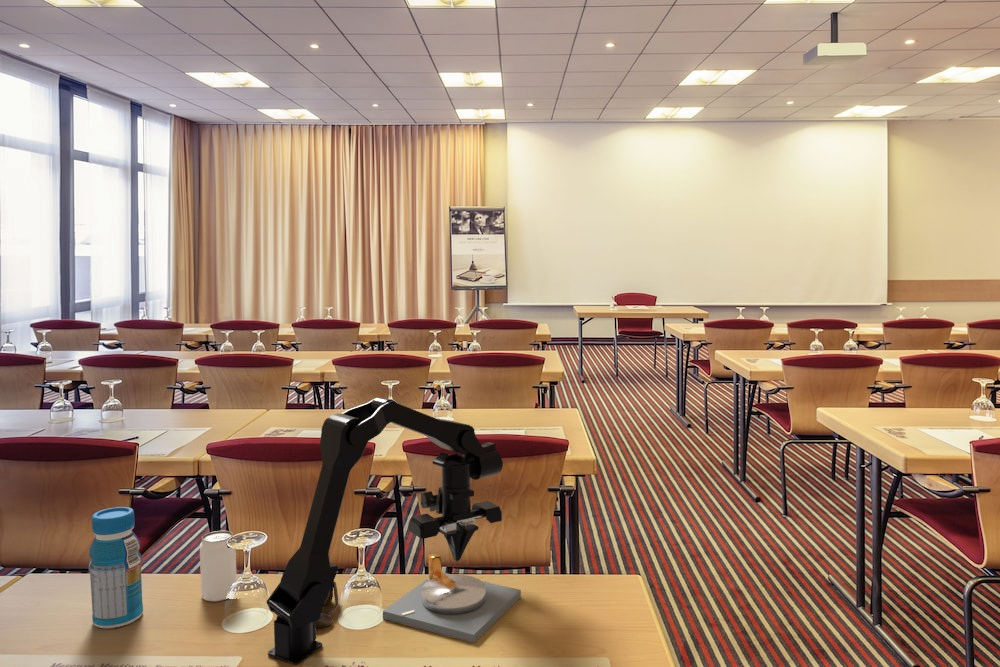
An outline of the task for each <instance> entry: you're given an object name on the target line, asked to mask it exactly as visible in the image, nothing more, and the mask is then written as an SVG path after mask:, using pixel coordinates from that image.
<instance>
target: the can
mask: <svg viewBox="0 0 1000 667" xmlns="http://www.w3.org/2000/svg"><path fill="white" fill-rule="evenodd" d="M233 535H234V534H233V532H232V531H228V530H217V531H216V530H215V531H211V532H208V533H205V534H203V535H202V536H201V542H200V544H199V564H200V565H199V567H200V590H201V592H200V593H201V598H202V599H203V600H204V601H205V602H209V603H218V602H219V603H220V602H224V601H226V600H225V599H226V596H227V593H228V591H229V589H230V587H231V586H232V584H233V583H234V582H236V581H237V580H238V579H237V555H236V554H237V553H236V548H235V549H232V548H228V547H227V545H226V542H227V540H228V539H229V538H230V537H233V538H234V536H233Z"/></svg>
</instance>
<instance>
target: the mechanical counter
mask: <svg viewBox="0 0 1000 667" xmlns="http://www.w3.org/2000/svg"><path fill="white" fill-rule="evenodd" d="M333 598H334V602H335V604H334V606H333V607H332V608H330V609H328V610H325V611H322V612H321V615H320V619H319V620H317V621H316V629H318V628H319V629H320V628H325V627H327V626H330V625H331V624H332V623H333V621H334V618H333V617H332V614H333V613H334V612H335V611H336V610H337V608H338V605H339V593H338V586H337V582H336V581H334V582H333V592H331V591H329V595H328V597H327V599H326V601H325V602H324V605H323V608H322V609H324V608H325V607H327V606H328V605H329V604H330V603H331V602H332V600H333Z"/></svg>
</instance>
